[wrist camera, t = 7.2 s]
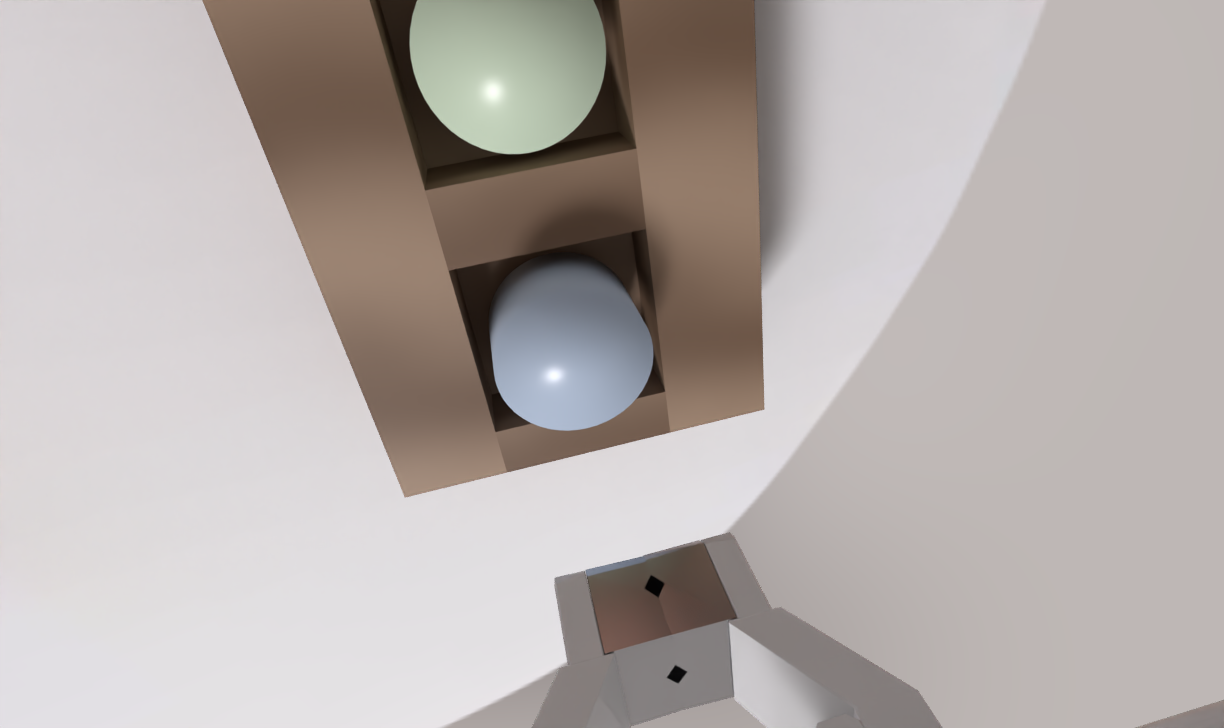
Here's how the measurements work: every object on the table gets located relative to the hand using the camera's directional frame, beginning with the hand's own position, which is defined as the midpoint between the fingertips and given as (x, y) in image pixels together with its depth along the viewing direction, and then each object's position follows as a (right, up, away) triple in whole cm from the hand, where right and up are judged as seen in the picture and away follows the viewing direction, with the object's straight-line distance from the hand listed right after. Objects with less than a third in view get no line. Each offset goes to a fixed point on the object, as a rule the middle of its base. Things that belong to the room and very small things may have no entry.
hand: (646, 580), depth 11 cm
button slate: (-2, +5, +8) cm, 9 cm away
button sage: (-3, +11, +5) cm, 13 cm away
